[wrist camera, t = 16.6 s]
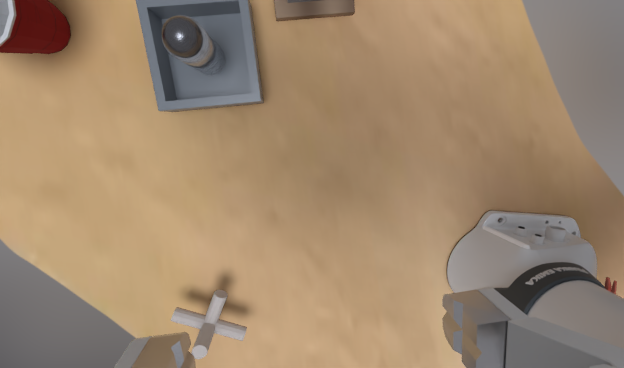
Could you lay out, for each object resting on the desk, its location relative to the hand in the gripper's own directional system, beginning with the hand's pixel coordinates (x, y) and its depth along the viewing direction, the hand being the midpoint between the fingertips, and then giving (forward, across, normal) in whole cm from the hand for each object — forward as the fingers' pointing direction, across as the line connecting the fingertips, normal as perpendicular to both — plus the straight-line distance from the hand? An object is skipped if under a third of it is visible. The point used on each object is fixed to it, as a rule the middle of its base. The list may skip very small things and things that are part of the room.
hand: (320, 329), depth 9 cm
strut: (+33, +9, -15) cm, 38 cm away
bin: (+34, +9, -15) cm, 38 cm away
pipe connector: (+34, +14, +20) cm, 42 cm away
